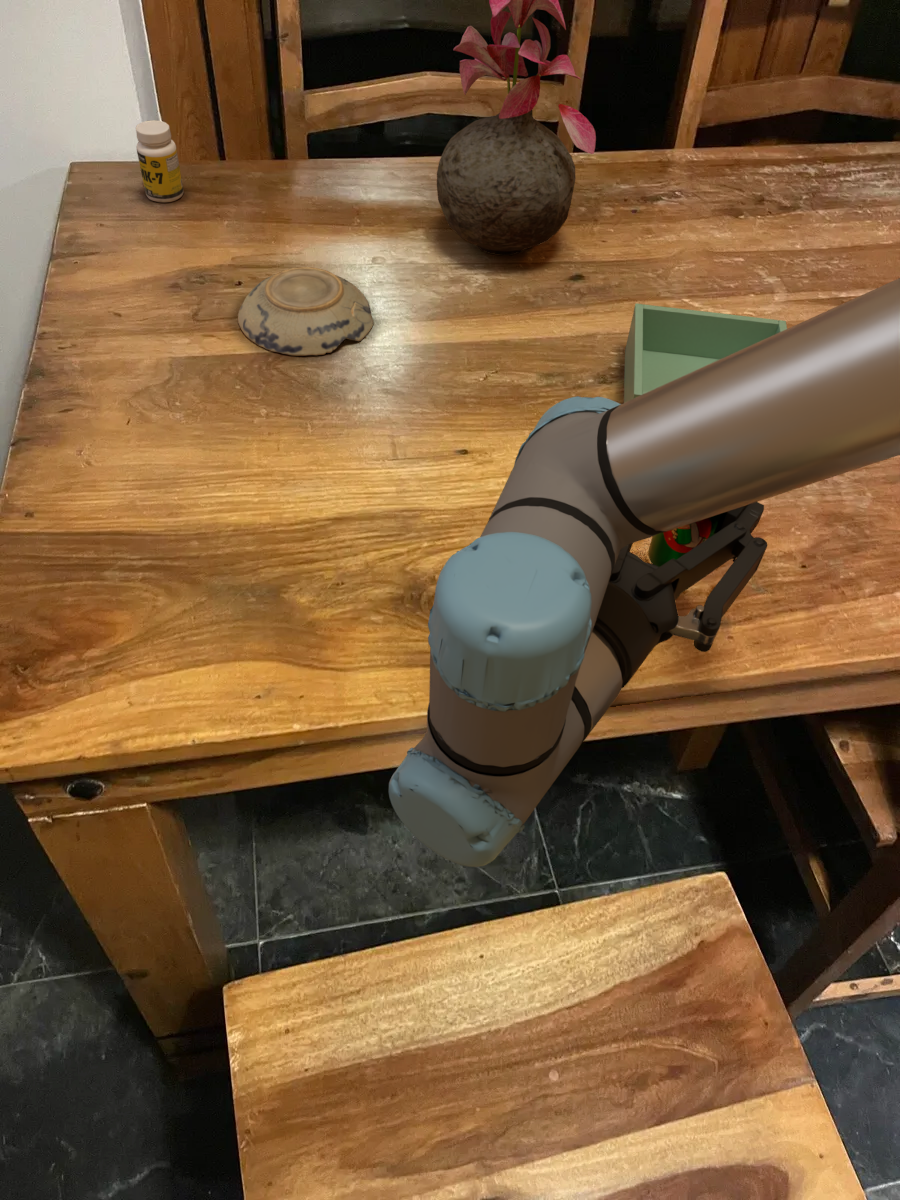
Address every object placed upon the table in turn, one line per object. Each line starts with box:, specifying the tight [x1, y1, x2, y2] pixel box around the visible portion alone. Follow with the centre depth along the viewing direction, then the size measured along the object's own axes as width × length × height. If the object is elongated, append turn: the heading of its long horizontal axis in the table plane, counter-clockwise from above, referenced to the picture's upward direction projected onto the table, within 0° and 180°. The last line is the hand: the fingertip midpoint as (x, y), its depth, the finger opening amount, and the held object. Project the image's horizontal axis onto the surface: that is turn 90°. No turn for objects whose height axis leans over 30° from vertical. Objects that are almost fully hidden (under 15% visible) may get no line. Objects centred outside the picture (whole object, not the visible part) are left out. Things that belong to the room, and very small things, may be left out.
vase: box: [436, 0, 597, 256], centre depth 104 cm, size 17×17×30 cm
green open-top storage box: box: [623, 302, 788, 403], centre depth 94 cm, size 16×16×6 cm
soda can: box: [647, 511, 728, 567], centre depth 70 cm, size 5×5×12 cm
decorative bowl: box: [237, 266, 374, 357], centre depth 102 cm, size 15×4×15 cm
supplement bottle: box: [135, 120, 184, 204], centre depth 116 cm, size 5×5×8 cm
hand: (727, 465), depth 73 cm, fingers closed on soda can, 5 cm apart
